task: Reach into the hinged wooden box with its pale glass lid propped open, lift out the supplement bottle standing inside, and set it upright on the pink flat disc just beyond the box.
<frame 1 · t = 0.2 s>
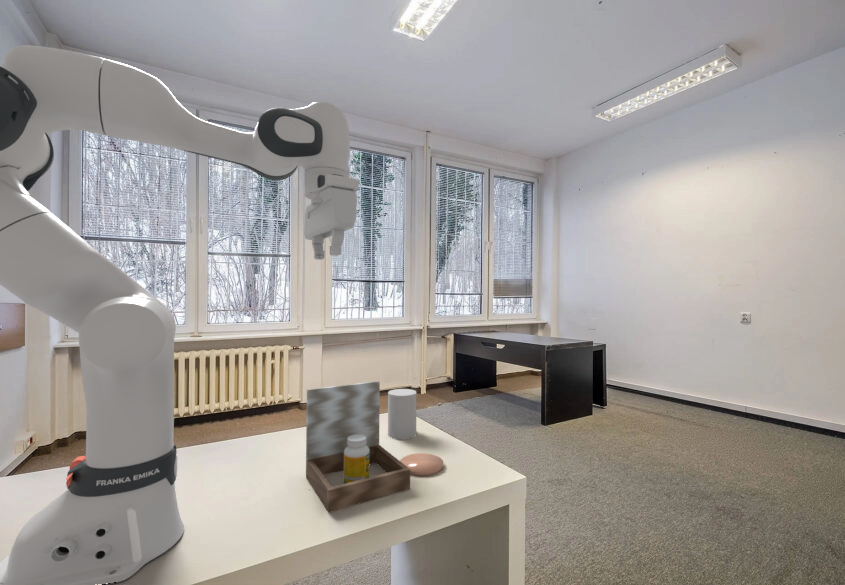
hand: (326, 257, 77), 47 cm above the table, tool pointing down, fingers open, 8 cm apart
pink flat disc: (421, 466, 89), on the table
white cylinder: (402, 434, 110), on the table
supplement bottle: (356, 484, 81), resting in hinged wooden box
hinged wooden box: (356, 483, 81), on the table
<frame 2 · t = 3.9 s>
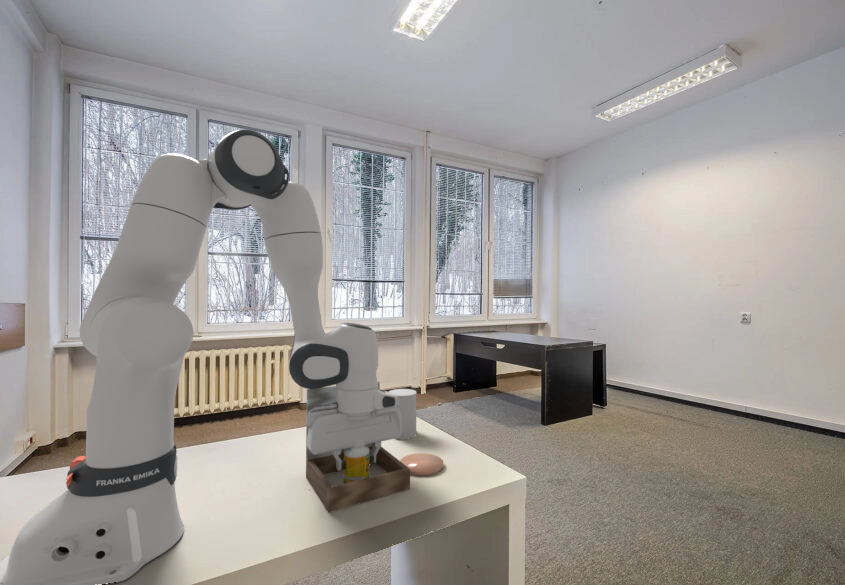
hand: (356, 465, 81), 4 cm above the table, tool pointing down, fingers closed on supplement bottle, 5 cm apart
supplement bottle: (356, 484, 81), resting in hinged wooden box, touching gripper
everything else where it was.
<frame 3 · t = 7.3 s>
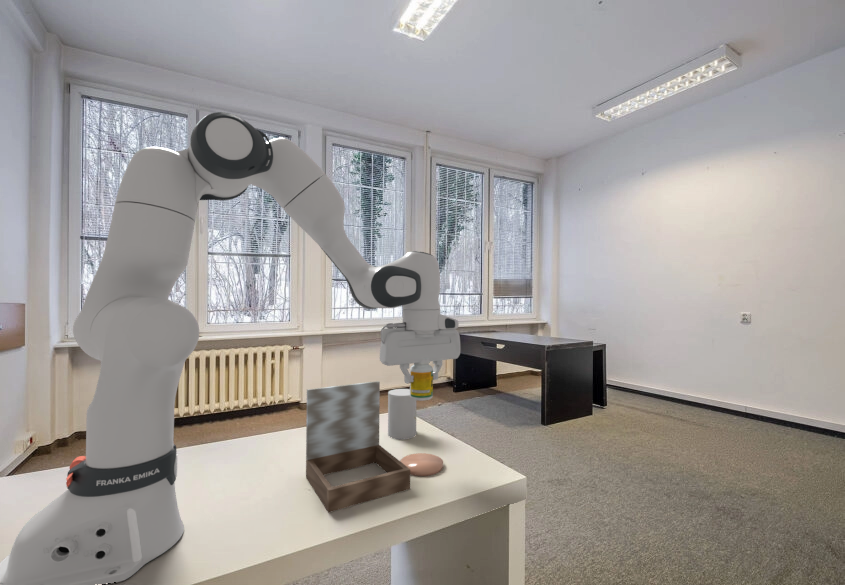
hand: (421, 381, 89), 20 cm above the table, tool pointing down, fingers closed on supplement bottle, 5 cm apart
supplement bottle: (421, 398, 89), point 16 cm above the table, touching gripper
everything else where it was.
when the fingers open (6 cm above the table, at t = 10.7 s): supplement bottle drops 1 cm, resting on pink flat disc.
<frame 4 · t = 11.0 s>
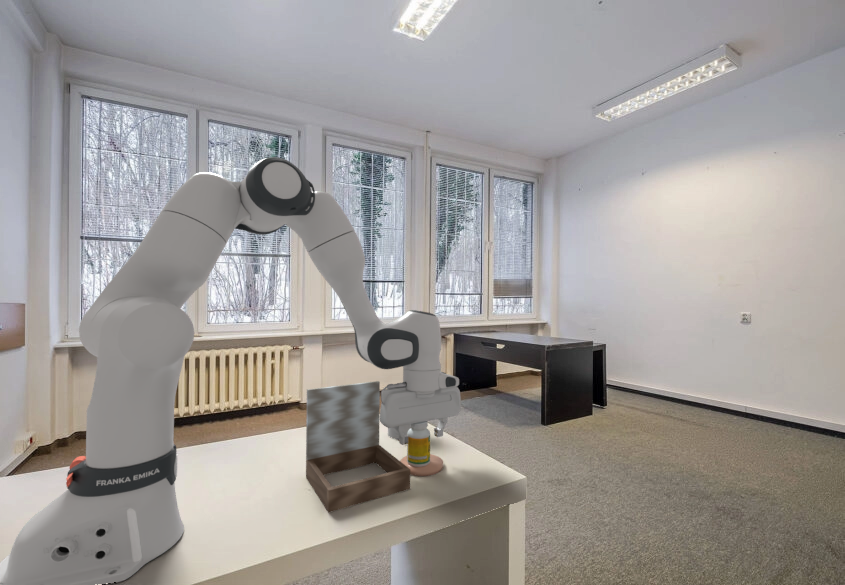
hand: (421, 439, 89), 6 cm above the table, tool pointing down, fingers open, 8 cm apart
supplement bottle: (418, 463, 89), point 1 cm above the table, touching pink flat disc
everything else where it was.
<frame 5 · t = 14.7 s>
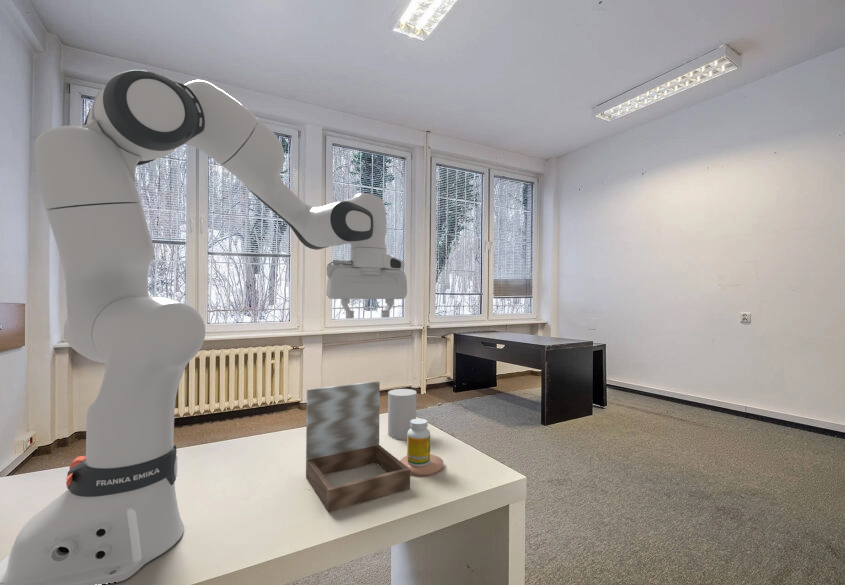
hand: (368, 317, 94), 34 cm above the table, tool pointing down, fingers open, 8 cm apart
nothing on the table moved.
at the end: supplement bottle 0.8 cm off-centre on the pink flat disc, point 0.8 cm above the pink flat disc's base; supplement bottle tilted 0°; the gripper is holding nothing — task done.
